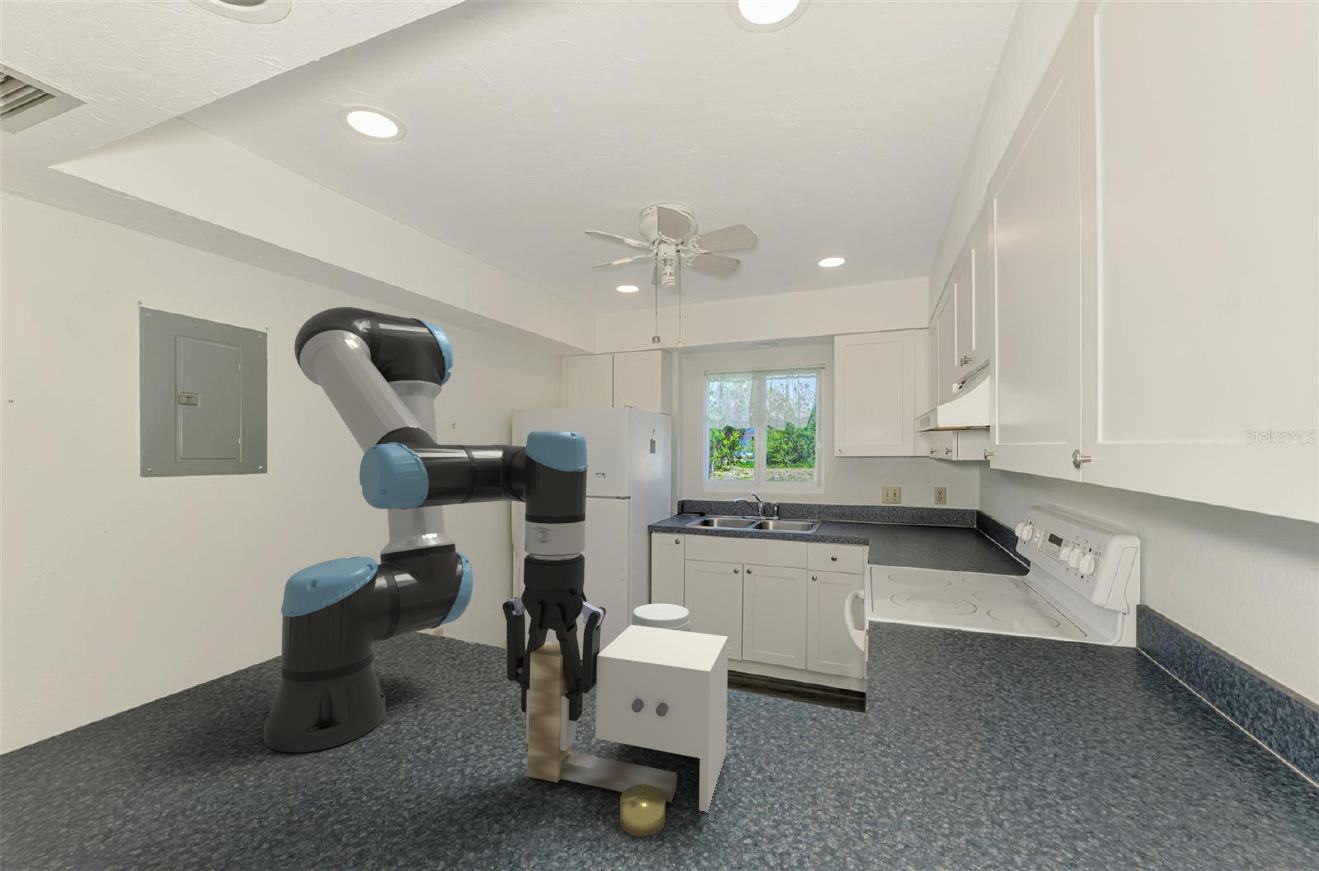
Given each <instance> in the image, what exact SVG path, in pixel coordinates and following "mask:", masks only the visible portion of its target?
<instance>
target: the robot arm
mask: <svg viewBox="0 0 1319 871" xmlns="http://www.w3.org/2000/svg"><path fill="white" fill-rule="evenodd" d="M293 347H294V356H295V359H296V361H297V364H298V367H299V368H300V370H301V372H302V373H303V374H304V376H305V377H306V378H307V379H308V380H309V381H310V382H311V383H314V385H317V386H320V387H321V389H322V390H323V392H324V393H325V395H326V396H327V397H328V399H329V401H330V402H331V404H332V406H333V407H334V408H335V410H336V412H337V413H338V414H339V416H340V418H341V419H342V420H343V422H344V424H345V426H346V428H347V429H348V431H349V432H350V433H351V434H352V436H353V438H354V439H355V441H356V442H357V444H358V445H359V447H360V449H361V450H362V452H363V453H364V454H363V456H362V458H361V461H360V464H359V477H358V478H359V484H360V487H361V493H362V496H363V498H364V500H365V501H366V503H367V504H368V505H369V506H371V507H373V508H375V509H380V510H386V509H387V522H388V537H389V540H388V543H387V544H386V545H385V546H384V547H383V548H382V549H381V550H380V552H379V556H380V563H379V564H378V563H377V562H376V560H375V559H374V558H373V557H370V556H351V557H347V558H346V557H340V558H336V559H331V560H325V561H322V562H318V563H316V564H313V565H310V566H306V567H304V568H302V569H300V570H298V571H297V572H295V573H294V574H292V575H290V577H289V578H288V580H287V581H286V582H285V585H284V591H283V599H282V606H281V610H280V612H281V614H282V621H281V622H282V625H281V628H282V629H281V630H282V631H281V634H282V635H281V661H280V662H281V663H280V664H281V666H280V667H281V668H280V681H279V684H278V686H277V689H276V693H275V696H274V699H273V700H272V704H271V707H270V711H269V712H268V714H267V715H266V718H265V719H264V724H263V743H264V744H265V745H266V746H267V747H268V748H269V749H272V750H274V751H278V752H284V753H308V752H315V751H321V750H325V749H326V750H327V749H330V748H334V747H338V746H340V745H344V744H347V743H349V742H351V741H354V740H356V739H359V738H361V737H363V736H364V735H367V734H368V733H369V732H371V731H372V730H374V729H375V728H376V727H378V726H379V725H380V724H381V723H382V721H383V719H385V715H386V696H385V693H384V692H383V690H382V686H381V682H380V678H379V676H378V673H377V669H376V667H375V662H374V661H375V660H374V659H375V657H374V656H375V644H376V643H378V642H382V641H385V640H389V639H394V638H398V637H402V636H405V635H410V634H414V633H416V632H420V631H425V630H427V629H429V630H430V629H431V630H433V629H437V628H439V627H440V626H443V625H446V624H449V623H452V622H455V621H457V620H458V619H460V618H461V617H462V615H463V614H464V613H465V611H466V609H467V607H468V606H469V604H470V602H471V598H472V594H473V590H474V588H473V587H474V573H473V572H474V571H473V568H472V564H470V563H469V561H470V560H469V559H468V557H467V556H466V555H465V554H463V553H461V552H459V551H456V550H457V549H456V542H455V541H454V540H453V539H452V538H450V536H449V535H447V534H446V532H445V530H446V529H445V520H444V508H443V506H449V505H450V506H451V505H459V504H461V505H464V504H475V503H479V504H481V503H490V502H492V503H493V502H504V501H506V502H507V501H508V502H509V501H510V502H519V503H520V502H521V503H525V510H524V511H525V512H524V513H525V514H524V551H525V552H526V553H527V555H526V556H525V557H524V558H523V585H524V590H523V592H522V594H521V596H520V597H517V596H516V597H513V598H511V599H509V600H507V601H505V602H503V603H502V605H501V606H502V610H503V614H504V617H505V620H506V677H507V679H508V681H510V682H513V681H515V682H516V683H518V684H519V685H520V690H521V691H520V693H521V694H520V699H521V700H520V708H521V711H522V713H526V716H525V717H526V718H525V743H526V744H529V699H530V655H531V652H533V651H536V650H537V649H539V648H540V647H541V646H543V645H544V644H545V642H546V639H547V635H548V631H549V630H552V631H554V632H555V637H556V640H557V641H558V644H560V650H561V655H563V669H564V675H565V681H566V688H567V691H566V692H565V693H564V694H563V695H562V696H561V737H560V750H564V751H566V750H567V749H568V748H569V746H570V745H571V744H572V745H573V743H574V742H575V740H576V732H577V731H576V728H577V727H576V726H577V724H576V723H577V721H578V720H579V718H581V716H582V714H583V704H584V703H583V697H584V695H583V694H588V693H590V692H591V690H592V689H593V688H595V686H597V655H598V654H599V653H600V650H601V649H600V646H601V630H602V628H601V627H602V625H603V622H604V619H605V617H606V614H607V609H606V608H605V607H603V606H599V607H596V606H594V605H592V604H591V603H589V602H588V599H587V597H586V595H585V591H584V586H585V571H586V570H585V568H586V567H585V565H586V563H585V562H586V557H585V556H584V555H583V554H582V553H583V552H584V551H585V550H586V509H587V507H586V506H587V478H588V477H587V476H588V475H587V474H588V472H587V471H588V467H589V463H588V454H587V450H588V449H587V440H586V437H585V435H584V434H582V433H581V432H578V431H563V430H562V431H561V430H560V431H559V430H557V431H555V430H554V431H553V430H550V431H549V430H538V431H537V430H535V431H530V432H529V433H528V434H527V437H526V443H525V444H526V445H525V446H522V445H508V444H490V445H486V444H483V445H482V444H476V445H475V444H440V443H438V436H437V425H436V414H435V412H436V411H435V403H434V402H435V399H436V398H437V396H439V395H440V394H441V393H442V386H444V385H445V384H446V383H447V382H448V381H449V380H450V377H451V375H452V370H451V368H453V366H454V356H453V349H452V348H453V347H452V345H451V341H450V339H449V337H448V336H447V334H446V332H445V331H444V330H443V329H441V328H440V327H439V326H438V325H436V324H434V323H432V322H427V321H424V320H421V319H419V318H415V317H414V318H413V317H410V318H409V317H405V316H398V315H393V314H388V313H383V312H378V311H374V310H367V309H363V308H358V307H352V306H339V307H338V306H337V307H332V308H328V309H325V310H323V311H320V312H318V313H316V314H314V315H313V316H312V317H309V318H308V319H307V320H306V321H305V322H304V323H303V324H302V325H301V327H300V328H299V330H298V332H297V334H296V337H295V340H294V346H293ZM526 611H527V613H528V615H529V617H530V622H529V625H528V632H527V633H528V640H527V643H526V618H525V617H526V615H525V612H526ZM581 614H582V616H583V619H582V622H583V624H584V625H585V626H584V628H583V629H584V630H583V638H582V641H583V642H582V656H581V653H580V648H579V641H578V640H579V639H578V634H577V633H578V624H577V622H578V621H577V619H578V617H579V616H580V615H581ZM526 644H527V645H526ZM581 658H582V659H581Z"/></svg>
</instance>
